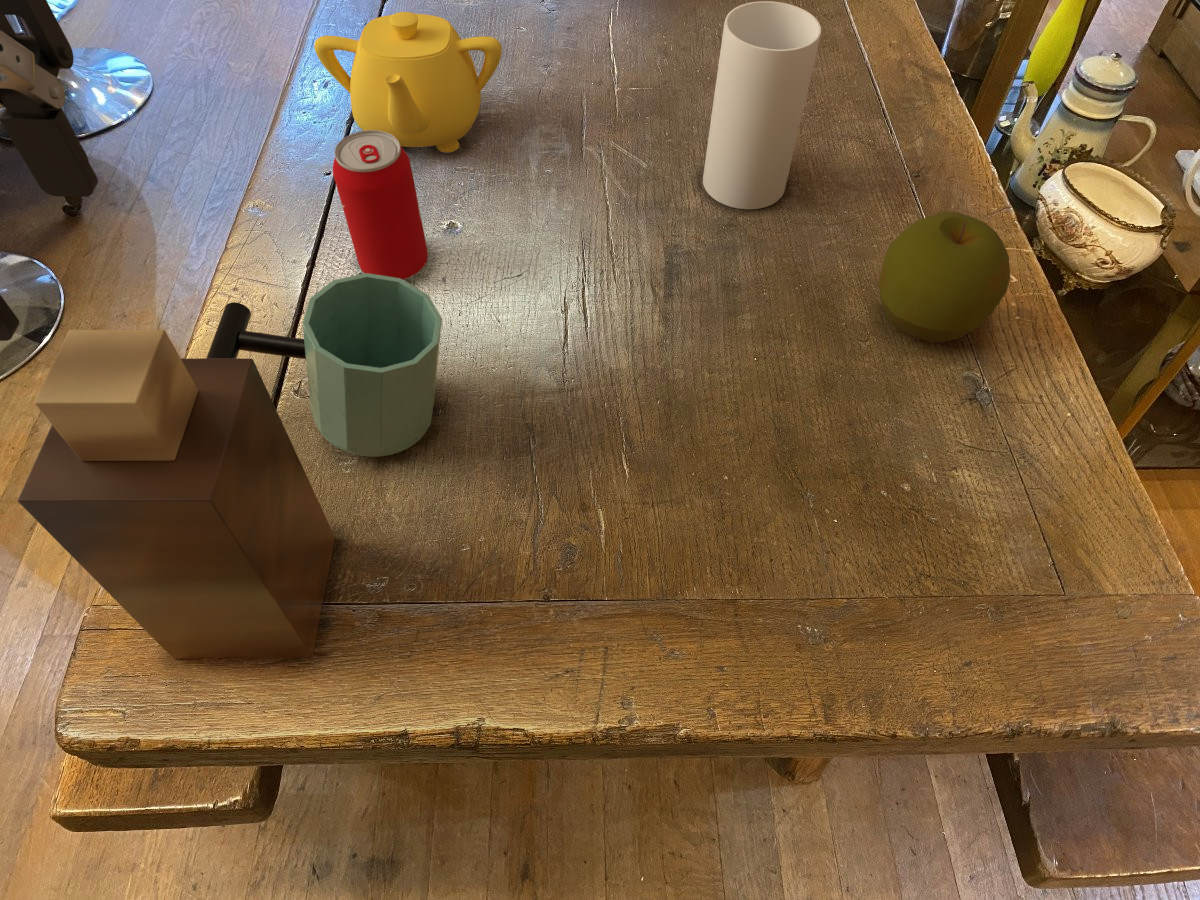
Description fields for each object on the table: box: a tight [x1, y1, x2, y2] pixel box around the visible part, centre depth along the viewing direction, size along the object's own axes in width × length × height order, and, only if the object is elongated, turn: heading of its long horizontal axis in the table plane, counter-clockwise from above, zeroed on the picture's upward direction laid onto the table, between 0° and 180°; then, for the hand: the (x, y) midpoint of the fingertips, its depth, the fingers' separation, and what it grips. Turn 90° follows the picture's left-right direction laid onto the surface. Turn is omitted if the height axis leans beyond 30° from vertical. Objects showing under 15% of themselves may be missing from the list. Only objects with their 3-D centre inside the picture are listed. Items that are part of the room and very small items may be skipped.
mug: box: [206, 273, 443, 458], centre depth 62 cm, size 15×9×10 cm, turn 90°
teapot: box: [313, 11, 503, 153], centre depth 85 cm, size 14×14×12 cm
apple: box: [877, 210, 1011, 343], centre depth 70 cm, size 10×10×11 cm
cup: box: [702, 0, 822, 210], centre depth 79 cm, size 8×8×16 cm
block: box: [34, 329, 198, 461], centre depth 41 cm, size 4×4×4 cm
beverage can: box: [332, 130, 429, 281], centre depth 73 cm, size 6×6×12 cm
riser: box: [17, 357, 336, 660], centre depth 50 cm, size 9×9×19 cm
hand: (35, 258), depth 35 cm, fingers open, 8 cm apart
